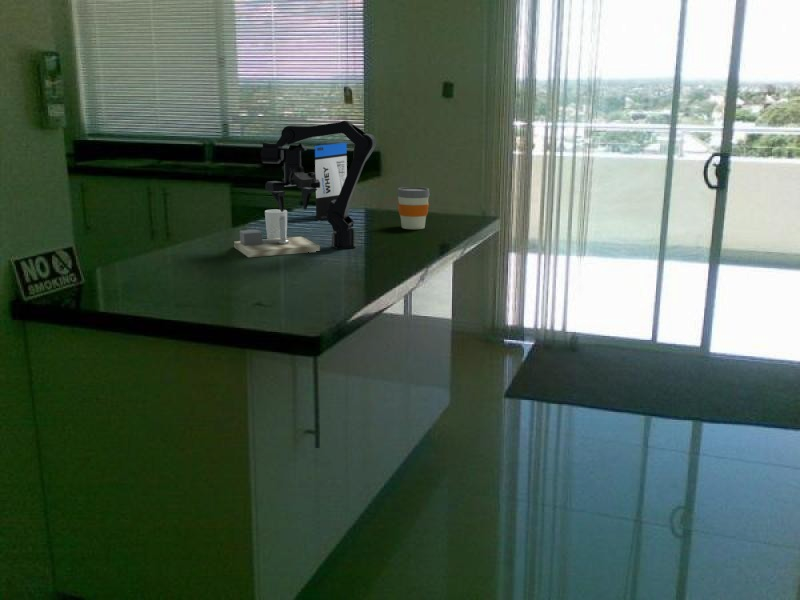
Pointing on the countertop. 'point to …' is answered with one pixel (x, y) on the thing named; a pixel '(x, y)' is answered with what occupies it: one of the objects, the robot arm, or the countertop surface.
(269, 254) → the panel
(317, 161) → the protein powder
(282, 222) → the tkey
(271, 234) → the white cup
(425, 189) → the reusable coffee cup
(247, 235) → the cover
